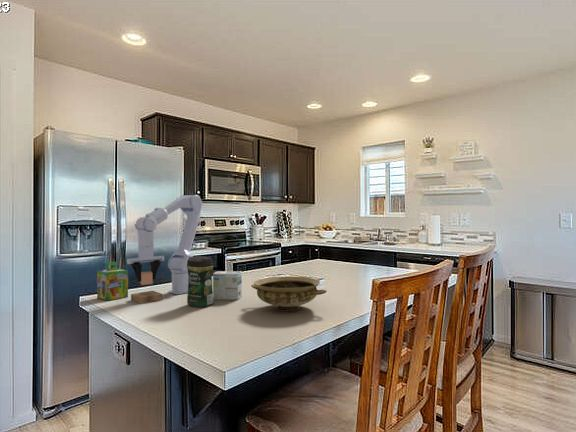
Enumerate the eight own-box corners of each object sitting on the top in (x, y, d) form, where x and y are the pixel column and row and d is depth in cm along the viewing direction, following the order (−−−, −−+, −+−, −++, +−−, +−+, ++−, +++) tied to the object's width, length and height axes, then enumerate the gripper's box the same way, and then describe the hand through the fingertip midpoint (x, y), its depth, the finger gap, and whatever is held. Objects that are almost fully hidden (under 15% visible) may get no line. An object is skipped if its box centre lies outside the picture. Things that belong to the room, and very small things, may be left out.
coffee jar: (183, 305, 138) (182, 256, 138) (198, 301, 145) (198, 254, 145) (201, 308, 133) (201, 258, 133) (217, 304, 140) (216, 255, 140)
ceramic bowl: (338, 305, 135) (337, 279, 135) (310, 323, 114) (310, 291, 114) (269, 297, 150) (268, 273, 150) (233, 311, 129) (233, 283, 129)
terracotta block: (151, 282, 150) (151, 271, 150) (152, 284, 147) (152, 272, 147) (140, 283, 148) (140, 272, 148) (141, 285, 145) (141, 273, 145)
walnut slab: (152, 297, 154) (152, 290, 154) (162, 301, 148) (162, 293, 148) (131, 301, 148) (131, 294, 148) (139, 305, 141) (139, 297, 141)
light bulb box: (242, 296, 153) (242, 270, 153) (238, 300, 146) (238, 273, 146) (217, 296, 154) (217, 270, 154) (212, 299, 147) (212, 273, 147)
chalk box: (107, 301, 146) (106, 264, 146) (96, 298, 152) (95, 263, 152) (129, 297, 154) (128, 262, 154) (117, 294, 159) (117, 260, 159)
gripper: (158, 244, 155) (159, 276, 156) (123, 247, 145) (124, 281, 145) (166, 245, 150) (166, 278, 150) (130, 248, 140) (131, 283, 140)
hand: (146, 280), depth 148 cm, fingers closed on terracotta block, 5 cm apart
